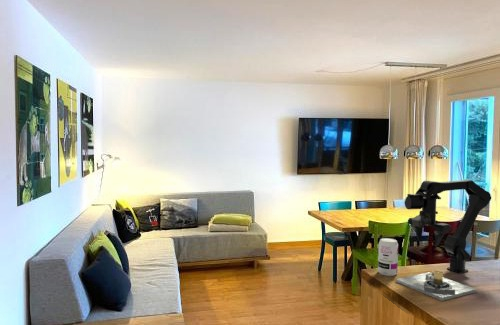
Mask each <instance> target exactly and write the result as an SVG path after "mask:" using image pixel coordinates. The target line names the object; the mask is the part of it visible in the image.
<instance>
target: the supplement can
mask: <svg viewBox="0 0 500 325" xmlns="http://www.w3.org/2000/svg"><path fill="white" fill-rule="evenodd" d="M377 252H378V253H377V254H378V255H377V257H378V258H377V261H378V262H377V271H378V273H379V275H382V276H386V277H387V276H388V277H393V276H396V275H397V274H398V267H399V266H398V263H399V260H398V259H399V243H398V240H396V239H395V238H388V237H387V238H386V237H385V238H380V239H379V242H378V251H377Z"/></svg>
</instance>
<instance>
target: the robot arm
mask: <svg viewBox="0 0 500 325" xmlns="http://www.w3.org/2000/svg"><path fill="white" fill-rule="evenodd" d="M459 190H464V191H465V192H466V194H467V195H468V196H469V197H468V207H467V209H466V210H465V213H464V214H463V216H462V219H461V220H460V223H459V224H458V226H457V229H456V230H455V232H454V233H453V234H452V235H450V234H448V235H447V237H446V239H445V240H444V244H443V247H444V249H445V251H446V254H447V255H448V256H450V258H449V267H447V268H446V270H448V271H452V272H454V273H457V274H461V273H465V272H469V270H468V269H466V260H467V261H468V260H470V256H471V255H470V254H469V252H468V251H467V250H466V248H467V237H468V235H469V234H470V232H471V229H472V228H473V226H474V223H475V221H476V219H477V217H478V215H479V214H480V212H481V210H483V209H485V208H486V207H487V206H488V205H489V203H491V200H492V194H491V193H490V191H487V190H485V189H484V188H483V187H482V186H480V185H478V184H477V183H476V182H475V181H474V180H470V179H461V180H451V181H449V180H448V181H433V180H423V181H422V182H421V183H420V187H419V188H418V189H417V191H416V192H415V193H413V194H411V193H408V194H407V196H406V197H405V199H404V207H405V209H407V210H419V214H418V215H416V216H414V217H409V218H408V220H407V224H408V225H409V227H411V228H412V229H413V230H414V232H415V236H416V238H417V240H418V242H420V241H422V236H423V230H424V226H426V227H429V228H432V229H434V231H433V233H434V235H435V241H434V244H435V247H437V246H439V244H440V243H441V241H442V239H443V237H444V236H445V235H446V233H449V232H452V231H451V230H452V226H451V225H450V224H448V223H444V222H440V223H439V222H438V220H437V219H436V218H437V216H436V215H438V214H439V212H438V210H437V200H442V197H441V196H440V195H439V194H441V193H443V192H448V191H459Z"/></svg>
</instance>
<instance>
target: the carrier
mask: <svg viewBox="0 0 500 325" xmlns="http://www.w3.org/2000/svg"><path fill="white" fill-rule="evenodd" d="M430 281H434V271H433V272H429V271H428V272H424V273H418V274H414V275H408V276H405V277H404V276H403V277H399V278H396V279H395V282H396V283H397V284H400V285H403V286H405V287H408V288H409V289H412V290H414V291H418V292H420V293H422V294H424V295H427V296H429V297H431V298H433V299H436V300H438V301H440V302H444V301H446V300H451V299H454V298H455V299H456V298H458V297H459V298H460V297H462V296H466V295H470V294H474V293H477V290H478V289H477V288H475V287H472V286H469V285H466V284H463V283H461V282H458V281H455V280H452V279H450V278H446V277H444V276H443V282H445V284H447V288H437V287H433V286H430V285H429V282H430Z"/></svg>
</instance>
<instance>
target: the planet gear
mask: <svg viewBox="0 0 500 325" xmlns="http://www.w3.org/2000/svg"><path fill="white" fill-rule="evenodd" d="M433 272H434V281H430V282H429V285H430V286H433V287H437V288H447V284H445V282H443V277H444V273H443V271H440V270H434V271H433Z"/></svg>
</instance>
